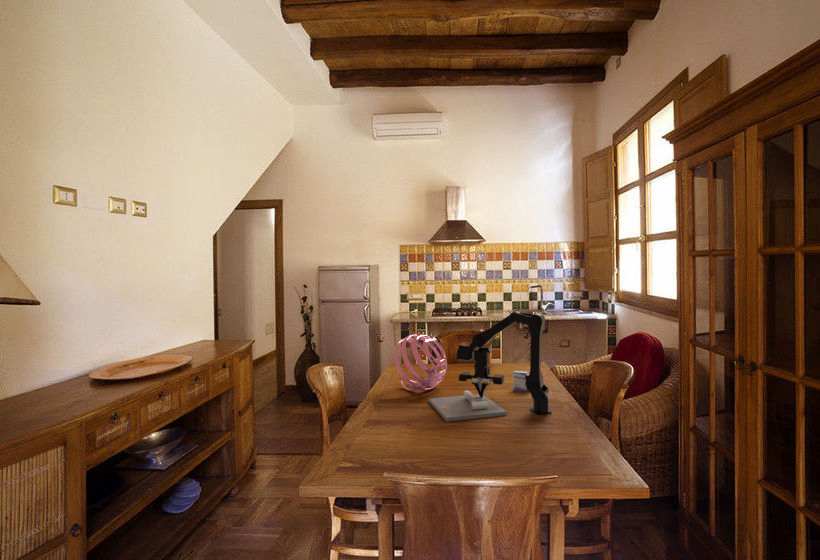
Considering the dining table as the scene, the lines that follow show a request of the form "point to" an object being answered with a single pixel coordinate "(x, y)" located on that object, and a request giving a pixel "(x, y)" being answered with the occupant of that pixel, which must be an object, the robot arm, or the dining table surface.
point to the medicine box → (519, 380)
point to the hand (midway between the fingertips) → (481, 397)
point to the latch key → (475, 401)
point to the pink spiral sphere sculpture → (421, 362)
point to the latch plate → (464, 408)
